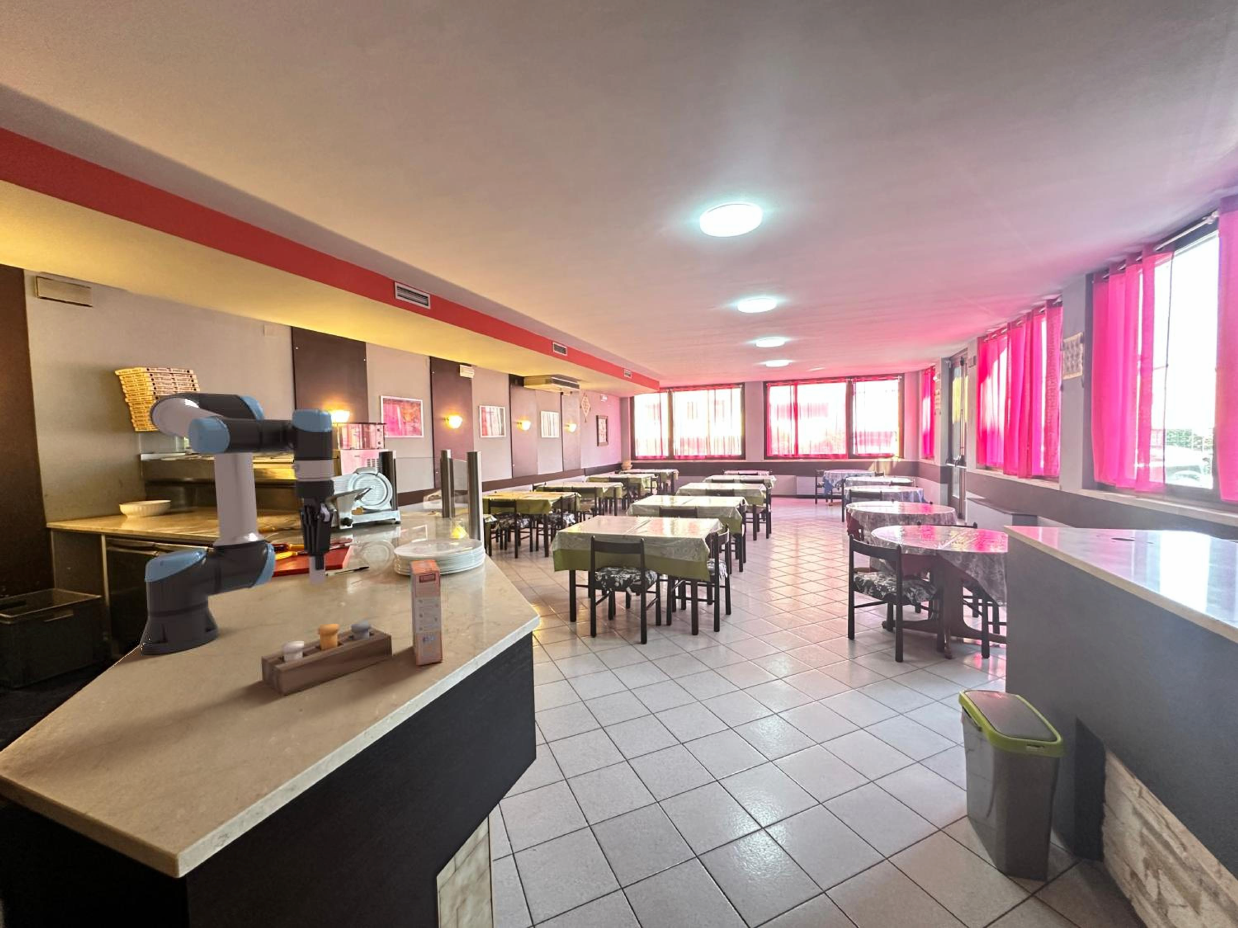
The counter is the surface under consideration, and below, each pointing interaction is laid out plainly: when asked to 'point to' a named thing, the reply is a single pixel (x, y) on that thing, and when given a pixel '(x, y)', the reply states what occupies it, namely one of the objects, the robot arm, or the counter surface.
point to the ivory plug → (292, 650)
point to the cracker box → (426, 611)
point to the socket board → (325, 661)
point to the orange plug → (328, 636)
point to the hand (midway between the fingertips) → (317, 583)
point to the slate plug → (361, 630)
